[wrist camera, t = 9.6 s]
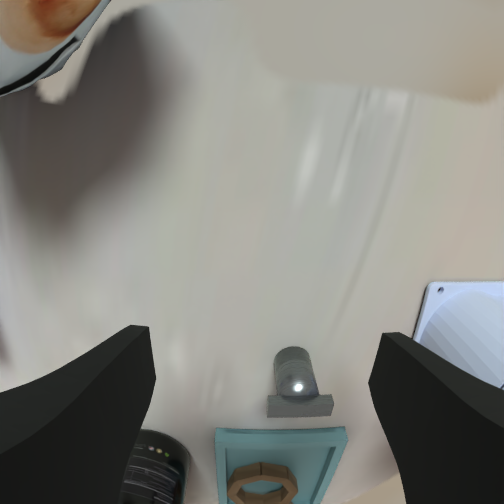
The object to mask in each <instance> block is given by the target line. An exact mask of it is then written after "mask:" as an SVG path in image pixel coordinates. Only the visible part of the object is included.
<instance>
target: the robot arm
mask: <svg viewBox="0 0 504 504" xmlns="http://www.w3.org/2000/svg"><path fill="white" fill-rule="evenodd" d="M440 287H441V289H440V291H439V292H438V289H439V288H440ZM155 381H156V374H155V368H154V361H153V354H152V347H151V340H150V332H149V327H147V326H137V325H129V326H127V327H126V328H124V329H122V330H121V331H119V332H117V333H116V334H114V335H113V336H111V337H110V338H108V339H107V340H105V341H104V342H102V343H101V344H99V345H97V346H96V347H94V348H93V349H91V350H90V351H88V352H87V353H85V354H83V355H82V356H80V357H78V358H77V359H75V360H73V361H71V362H70V363H68V364H66V365H64V366H63V367H61V368H59V369H57V370H55V371H53V372H51V373H49V374H47V375H45V376H43V377H41V378H39V379H36V380H34V381H32V382H29V383H27V384H24V385H22V386H19V387H16V388H13V389H10V390H7V391H4V392H1V393H0V504H118V500H119V495H120V490H121V486H122V481H123V477H124V473H125V469H126V466H127V462H128V459H129V457H130V454H131V451H132V449H133V446H134V444H135V441H136V439H137V436H138V434H139V431H140V428H141V426H142V423H143V421H144V418H145V416H146V413H147V411H148V408H149V405H150V402H151V398H152V394H153V390H154V386H155ZM368 384H369V388H370V392H371V397H372V400H373V404H374V408H375V410H376V413H377V415H378V418H379V420H380V423H381V425H382V428H383V430H384V432H385V435H386V437H387V440H388V442H389V445H390V447H391V450H392V452H393V455H394V457H395V460H396V462H397V465H398V469H399V472H400V476H401V480H402V484H403V489H404V493H405V499H406V504H504V281H488V282H431V283H430V284H429V285H428V286H427V289H426V293H425V297H424V301H423V305H422V309H421V313H420V316H419V320H418V323H417V327H416V330H415V334H414V337H413V339H411V338H409V337H408V336H406V335H404V334H402V333H400V332H393V333H382V336H381V340H380V344H379V348H378V351H377V355H376V358H375V362H374V365H373V369H372V372H371V375H370V379H369V382H368Z"/></svg>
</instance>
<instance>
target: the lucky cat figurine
mask: <svg viewBox="0 0 504 504" xmlns="http://www.w3.org/2000/svg"><path fill="white" fill-rule="evenodd" d="M110 1H111V0H0V96H4V95H7V94H9V93H12V92H16V91H20V90H23V89H25V88H27V87H29V86H31V85H32V84H34V83H35V82H36V81H38V80H39V79H43V78H46V77H49V76H51V75H53V74H54V73H56V72H58V71H60V70H61V69H62V68H63V66H64V65H65V63H66V61H67V60H68V59H69V57H70V56H71V55H72V53H73V52H74V51H76V50H77V49H78V48H79V47H80V45H81V43H82V41H83V40H84V38H85V36H86V35H87V33H88V32H89V31H90V29H91V28H92V26H93V25H94V23H95V22H96V21H97V19H98V18H99V16H100V15H101V13H102V12H103V10H104V9H105V8H106V6H107V5H108V4H109V2H110Z"/></svg>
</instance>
